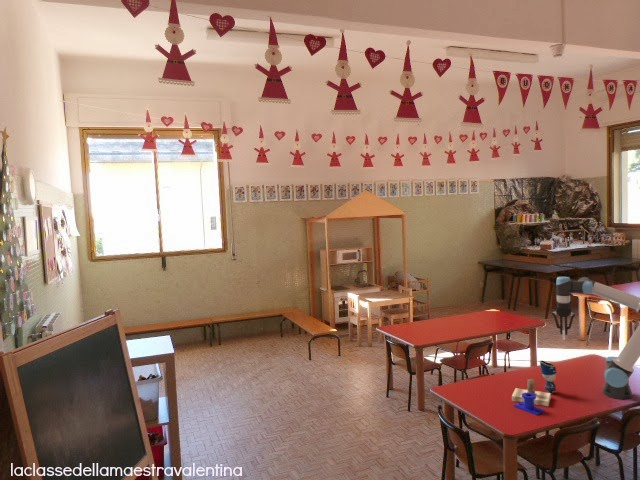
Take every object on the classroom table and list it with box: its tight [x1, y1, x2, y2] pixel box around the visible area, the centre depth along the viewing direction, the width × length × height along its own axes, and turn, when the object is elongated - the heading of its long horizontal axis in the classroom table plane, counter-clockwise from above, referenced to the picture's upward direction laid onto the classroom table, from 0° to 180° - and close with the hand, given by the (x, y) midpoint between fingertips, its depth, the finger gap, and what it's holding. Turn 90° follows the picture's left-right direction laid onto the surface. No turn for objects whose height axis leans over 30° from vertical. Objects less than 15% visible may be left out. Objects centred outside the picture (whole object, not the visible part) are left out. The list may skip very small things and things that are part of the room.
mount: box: [513, 393, 546, 416], centre depth 275 cm, size 15×8×9 cm, turn 31°
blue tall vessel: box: [539, 360, 557, 394], centre depth 298 cm, size 13×9×20 cm
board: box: [511, 387, 552, 407], centre depth 289 cm, size 20×14×3 cm
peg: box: [526, 378, 536, 394], centre depth 289 cm, size 4×4×12 cm
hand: (563, 339), depth 293 cm, fingers closed
